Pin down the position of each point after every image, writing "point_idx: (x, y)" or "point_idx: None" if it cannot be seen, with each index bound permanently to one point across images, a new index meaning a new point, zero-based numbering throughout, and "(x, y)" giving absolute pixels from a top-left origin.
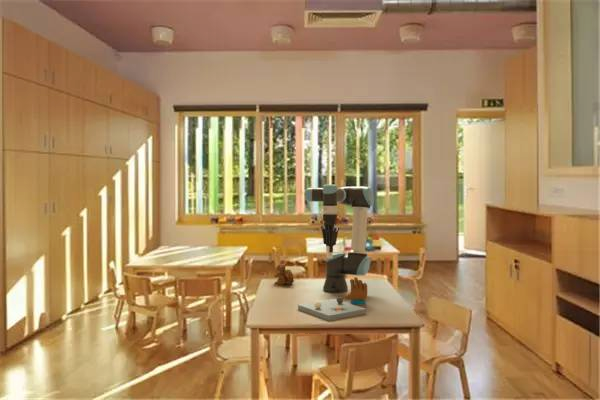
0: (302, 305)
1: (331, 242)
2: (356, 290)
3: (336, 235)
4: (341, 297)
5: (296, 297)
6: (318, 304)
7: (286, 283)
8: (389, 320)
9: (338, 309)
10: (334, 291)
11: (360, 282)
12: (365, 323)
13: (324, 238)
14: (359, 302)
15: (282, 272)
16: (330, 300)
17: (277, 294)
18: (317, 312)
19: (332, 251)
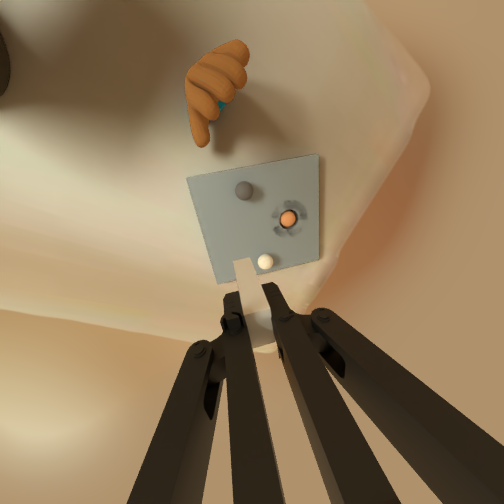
0: (227, 278)
1: (329, 364)
2: (210, 94)
3: (461, 429)
4: (248, 188)
5: (87, 245)
6: (272, 264)
7: None
8: (380, 137)
9: (293, 223)
10: (4, 77)
11: (245, 82)
12: (363, 201)
13: (211, 443)
14: (224, 104)
15: None
16: (202, 197)
17: (36, 280)
18: (284, 267)
19: (275, 287)
